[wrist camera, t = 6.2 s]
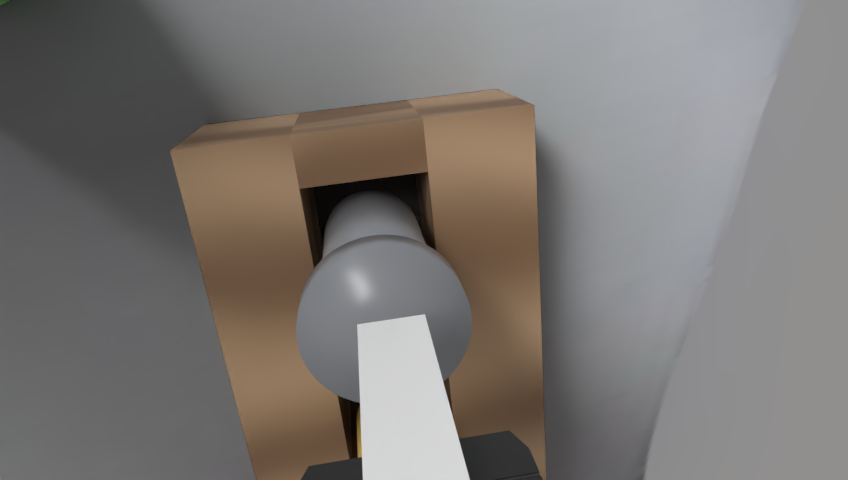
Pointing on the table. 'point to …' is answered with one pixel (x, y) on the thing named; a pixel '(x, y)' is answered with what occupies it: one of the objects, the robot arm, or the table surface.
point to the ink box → (3, 1)
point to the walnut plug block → (303, 249)
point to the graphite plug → (376, 290)
